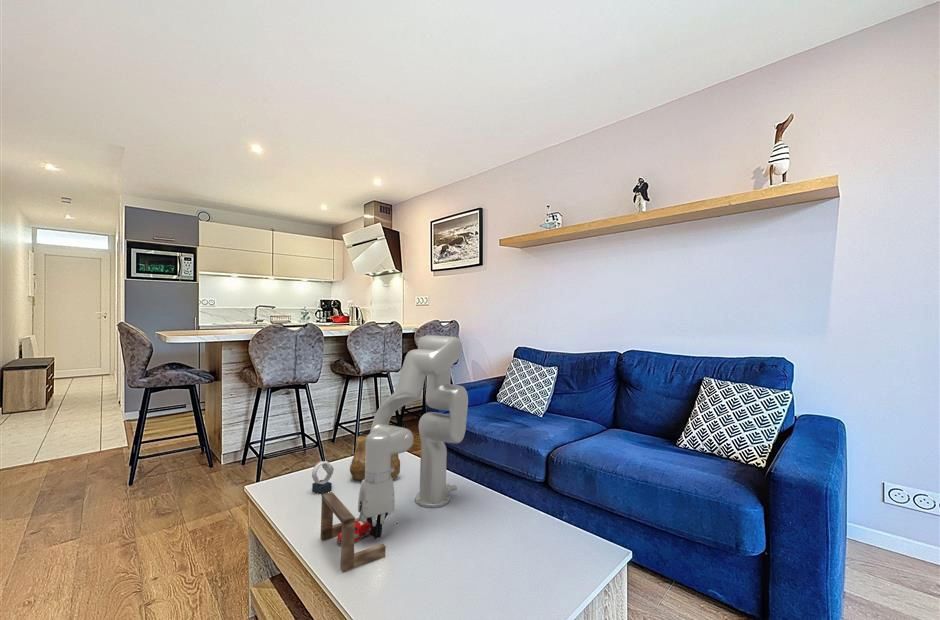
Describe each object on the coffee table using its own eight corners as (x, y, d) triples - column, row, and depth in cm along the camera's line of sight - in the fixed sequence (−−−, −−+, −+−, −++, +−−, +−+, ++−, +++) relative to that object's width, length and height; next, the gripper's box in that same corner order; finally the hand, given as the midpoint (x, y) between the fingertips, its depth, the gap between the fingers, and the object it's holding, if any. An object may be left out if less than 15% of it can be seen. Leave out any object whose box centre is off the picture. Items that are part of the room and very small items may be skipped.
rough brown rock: (334, 478, 165) (334, 443, 164) (366, 463, 179) (365, 430, 178) (373, 495, 152) (372, 457, 151) (404, 478, 166) (403, 443, 165)
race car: (342, 550, 114) (343, 536, 114) (333, 543, 117) (333, 529, 118) (381, 532, 124) (381, 519, 124) (371, 526, 127) (371, 513, 127)
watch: (335, 489, 153) (336, 460, 153) (317, 497, 146) (318, 466, 146) (325, 486, 156) (326, 457, 156) (307, 493, 149) (308, 463, 149)
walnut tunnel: (359, 527, 126) (360, 484, 126) (385, 556, 111) (386, 508, 111) (320, 538, 119) (321, 494, 119) (342, 572, 103) (343, 520, 104)
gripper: (395, 465, 127) (393, 523, 127) (348, 476, 118) (347, 538, 118) (406, 473, 121) (404, 534, 121) (358, 485, 112) (356, 551, 112)
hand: (376, 536), depth 119 cm, fingers closed
